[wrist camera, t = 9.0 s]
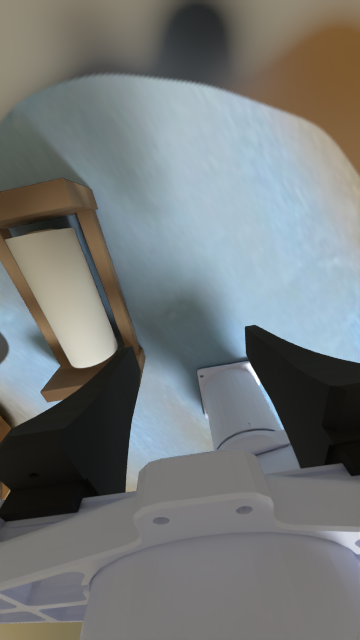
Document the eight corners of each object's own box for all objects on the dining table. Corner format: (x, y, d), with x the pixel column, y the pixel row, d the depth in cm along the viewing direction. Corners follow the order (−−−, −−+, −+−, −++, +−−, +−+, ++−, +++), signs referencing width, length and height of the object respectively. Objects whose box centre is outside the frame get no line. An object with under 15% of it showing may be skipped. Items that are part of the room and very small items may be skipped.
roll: (108, 336, 25) (126, 350, 21) (66, 356, 22) (78, 377, 19) (66, 228, 19) (79, 222, 16) (3, 239, 17) (2, 235, 13)
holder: (145, 357, 25) (139, 387, 20) (69, 370, 25) (47, 402, 21) (91, 189, 17) (62, 178, 13) (-18, 213, 17) (-84, 210, 13)
